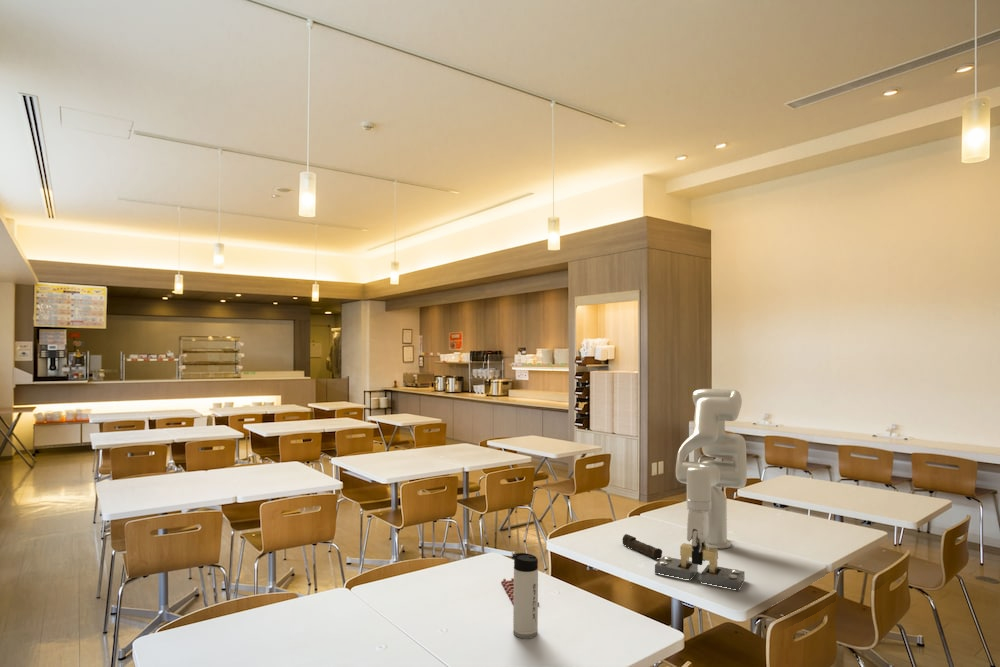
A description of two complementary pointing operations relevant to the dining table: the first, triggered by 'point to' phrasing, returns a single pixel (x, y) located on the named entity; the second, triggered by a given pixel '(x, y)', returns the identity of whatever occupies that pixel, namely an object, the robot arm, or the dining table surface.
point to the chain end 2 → (724, 577)
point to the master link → (707, 554)
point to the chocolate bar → (509, 589)
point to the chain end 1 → (675, 568)
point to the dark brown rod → (641, 547)
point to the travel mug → (525, 596)
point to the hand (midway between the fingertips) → (698, 561)
